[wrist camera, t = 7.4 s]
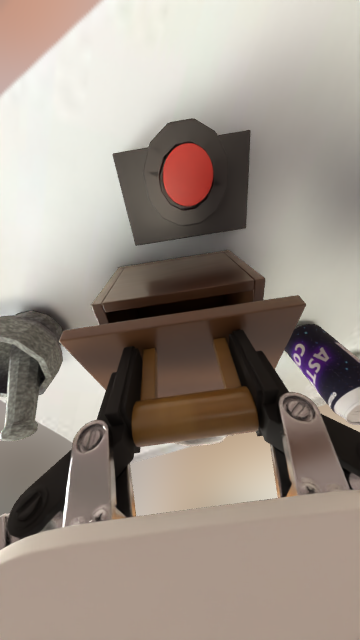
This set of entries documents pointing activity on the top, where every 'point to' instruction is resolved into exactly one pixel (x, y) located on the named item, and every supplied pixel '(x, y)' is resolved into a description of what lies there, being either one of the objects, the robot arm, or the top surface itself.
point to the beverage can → (328, 369)
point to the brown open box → (177, 287)
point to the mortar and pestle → (26, 368)
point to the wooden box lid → (188, 366)
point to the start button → (188, 174)
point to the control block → (155, 204)
